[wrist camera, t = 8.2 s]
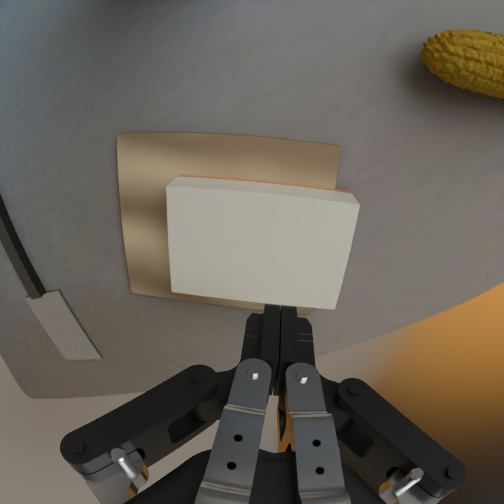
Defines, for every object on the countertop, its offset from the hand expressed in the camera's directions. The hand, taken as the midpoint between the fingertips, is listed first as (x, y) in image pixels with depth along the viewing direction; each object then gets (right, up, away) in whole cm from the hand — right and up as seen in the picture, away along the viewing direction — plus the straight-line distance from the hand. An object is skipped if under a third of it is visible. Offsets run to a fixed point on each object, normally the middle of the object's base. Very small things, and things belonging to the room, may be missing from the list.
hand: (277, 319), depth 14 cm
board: (-4, +5, +9) cm, 11 cm away
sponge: (+5, +3, +7) cm, 9 cm away
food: (+20, +18, 0) cm, 27 cm away
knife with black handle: (-26, 0, +14) cm, 29 cm away
